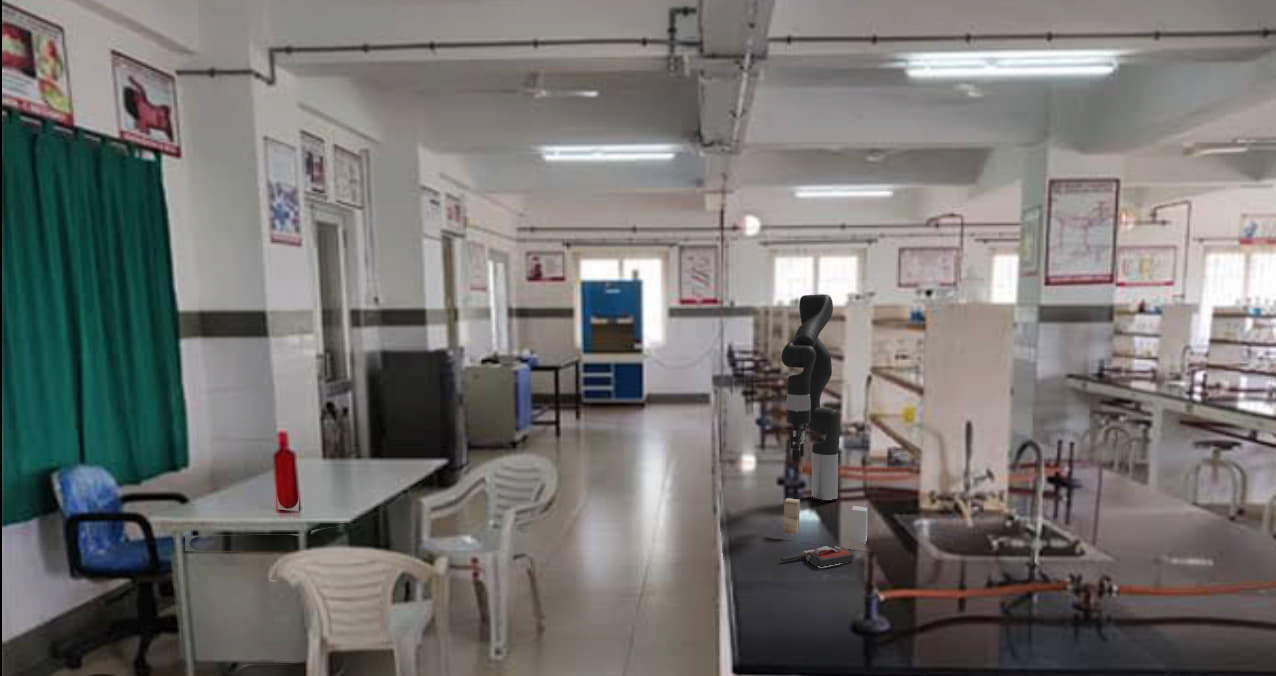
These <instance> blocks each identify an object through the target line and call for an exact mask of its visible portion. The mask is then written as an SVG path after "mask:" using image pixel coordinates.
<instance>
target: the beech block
mask: <svg viewBox="0 0 1276 676" xmlns="http://www.w3.org/2000/svg"><path fill="white" fill-rule="evenodd" d="M800 506H801V505H800V499H796V498H795V499H794V498H789V497H788V498H787V497H786V499H784V502H783V525H784V532H785V533H793V534H797V533H798V531H799V527H800V513H801V512H800V510H801V509H800Z"/></svg>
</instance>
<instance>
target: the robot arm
mask: <svg viewBox="0 0 1276 676" xmlns="http://www.w3.org/2000/svg"><path fill="white" fill-rule="evenodd" d="M798 305H799V307H798V308H799V316H800V323H801V325H800V326H799V327H798V329H797V330H796V333H795V334H794V337H793V338H792V339H791V340H790V341H789V342H788V343H786V344H785V346H784V348H783V350H782V352H781V362H782V364H783V365H784V366H785V367H788V368H796V369H797V368H803V369H802V371H801V373H797V374H791V375H789V376H788V377H787V386H786V387H787V388H786V390H787V392H786V393H787V394H786V401H785V402H786V406H785V407H786V409H785V411H786V412H785V413H786V414H785V415H786V416H785V417H786V423H787V424H791V425H793V426H792V428H791V429H790V446H789V448H790V450H792V451H791V455H792V456H791V458H792V459H791V461H792V462H793V463H799V462H800V461H801V458H800V457H802V458H803V457H804V456H805V452H804V451H805V444H806V443H805V442H806V440H807V438H806V436H807V435H806V430H807V429H806V426H808V429H809V431H810V432H812V433H815V434H816V433H817V434H822V435H823V434H824V435H825V439H824V440H821V441H817V442H814V443H812V445H811V497H812V496H813V497H815V498H818V499H822V500H832V499H837V498H839V497H838V495H839V494H838V492H839V491H838V490H839V481H838V480H839V447H840V435H841V434H840V433H841V414H840V412H839V411H838V410H837V409H832V408H825V407H821V397H822V393H823V391H824V390H825V388H826V386H827V385H828V383H829V382H830V379H831V377H832V374H833V369H832V368H833V367H832V356H831V353H830V351H829V350H828V348H827V347H826V345H825V344H824V343H823V342H822V341H821V339H820V338H819V336H820V334H821V332H822V331H823V329H824V328H825V327H826V325H827V324H828V322H829V321H830V319H831V318H832V315H833V312H834V303H833V300H832V297H831V296H830V294H825V293H823V294H822V293H821V294H820V293H819V294H806V295H805V294H804V295H802V296H801V297H800V299H799V304H798ZM795 444H796V445H795Z"/></svg>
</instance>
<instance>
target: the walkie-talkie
mask: <svg viewBox="0 0 1276 676" xmlns="http://www.w3.org/2000/svg"><path fill="white" fill-rule="evenodd" d="M802 558H803V559H805V561H806V560H809V561H811V562H812V563H813V564H812V563H811V564H812V566H814V565H815V566H814V567H817V566H820V567H824V566H829V565H835V564H839V563H845V564H847V563H846V562H851V563H853V562H854V551H853V550H848V549H846V548H844V547H837V546H835V548H832V547H828V546H820V547H819V546H818V547H816V548H814V549H809V550H803V551H802V553H800V554H794V555H789V556H782V557H781V558H780V561H781V562H786V561H792V560H798V559H799V560H800V559H802ZM852 561H853V562H852Z"/></svg>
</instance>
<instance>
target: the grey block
mask: <svg viewBox="0 0 1276 676" xmlns="http://www.w3.org/2000/svg"><path fill="white" fill-rule="evenodd" d="M851 534H852V542H858V543H864V544H866V541H867V536H868V507H866V506H865V507H864V506H858V505H853V506H852V509H851Z"/></svg>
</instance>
